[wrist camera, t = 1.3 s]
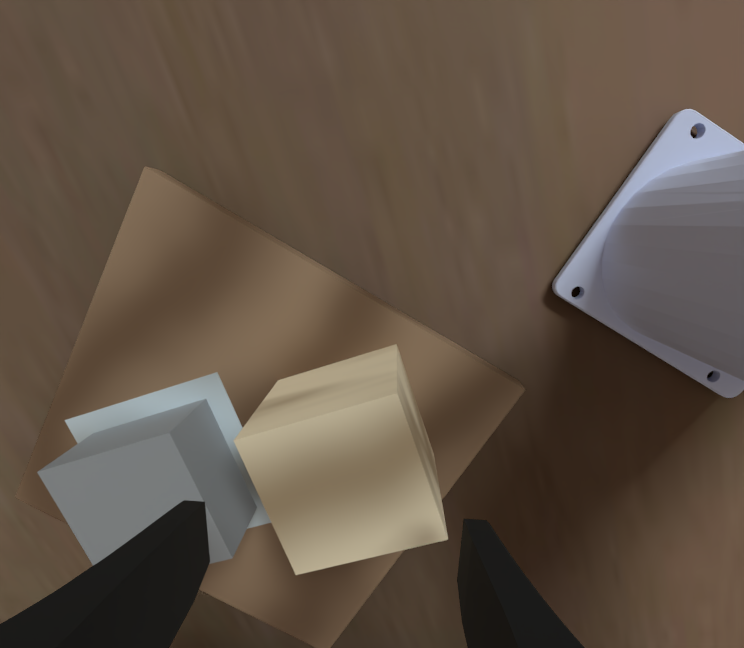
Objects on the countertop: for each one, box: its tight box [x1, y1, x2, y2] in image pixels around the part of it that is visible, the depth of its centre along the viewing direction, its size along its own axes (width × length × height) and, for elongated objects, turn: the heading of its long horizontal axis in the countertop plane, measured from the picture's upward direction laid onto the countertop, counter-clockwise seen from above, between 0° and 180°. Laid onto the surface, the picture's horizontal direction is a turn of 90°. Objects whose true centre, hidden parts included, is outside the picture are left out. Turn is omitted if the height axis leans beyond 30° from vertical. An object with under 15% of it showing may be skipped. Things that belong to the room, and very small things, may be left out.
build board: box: [15, 167, 526, 648], centre depth 19 cm, size 18×18×1 cm
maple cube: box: [233, 344, 448, 575], centre depth 15 cm, size 6×6×5 cm
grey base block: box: [37, 399, 257, 566], centre depth 17 cm, size 6×6×3 cm
